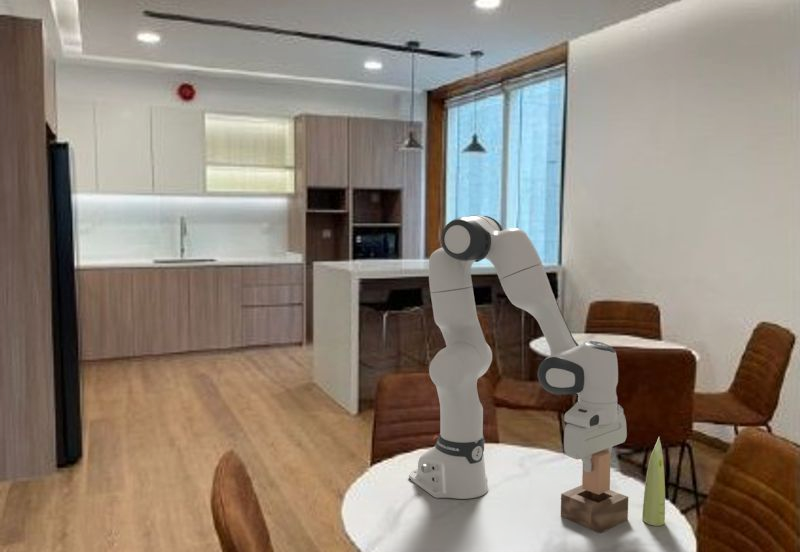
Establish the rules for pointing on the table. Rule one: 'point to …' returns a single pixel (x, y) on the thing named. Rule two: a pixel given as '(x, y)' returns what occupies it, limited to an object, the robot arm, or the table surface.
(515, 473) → the table surface
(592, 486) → the peg
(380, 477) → the table surface
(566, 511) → the socket block
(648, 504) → the tube
